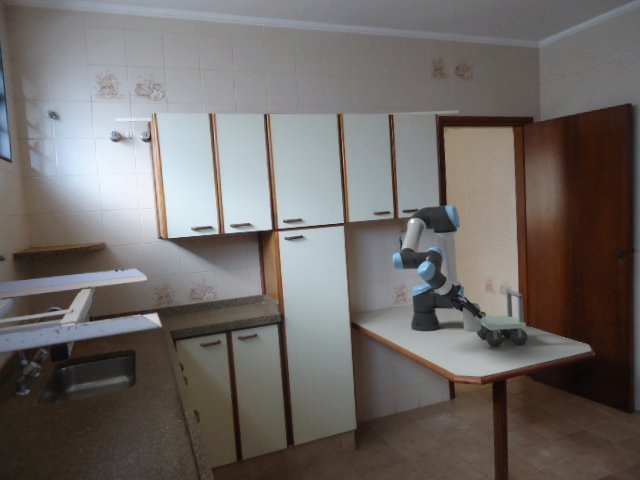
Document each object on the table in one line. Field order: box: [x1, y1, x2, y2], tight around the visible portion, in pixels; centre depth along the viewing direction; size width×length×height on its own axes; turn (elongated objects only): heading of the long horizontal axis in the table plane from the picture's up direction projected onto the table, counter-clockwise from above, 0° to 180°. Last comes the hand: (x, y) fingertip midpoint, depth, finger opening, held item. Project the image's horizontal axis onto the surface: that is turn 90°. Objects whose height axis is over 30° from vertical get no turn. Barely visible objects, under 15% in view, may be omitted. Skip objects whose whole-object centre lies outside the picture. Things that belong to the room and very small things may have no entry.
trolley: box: [476, 288, 528, 348], centre depth 212 cm, size 16×18×23 cm
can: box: [462, 302, 481, 333], centre depth 205 cm, size 8×8×12 cm
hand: (478, 320), depth 206 cm, fingers closed on can, 7 cm apart
